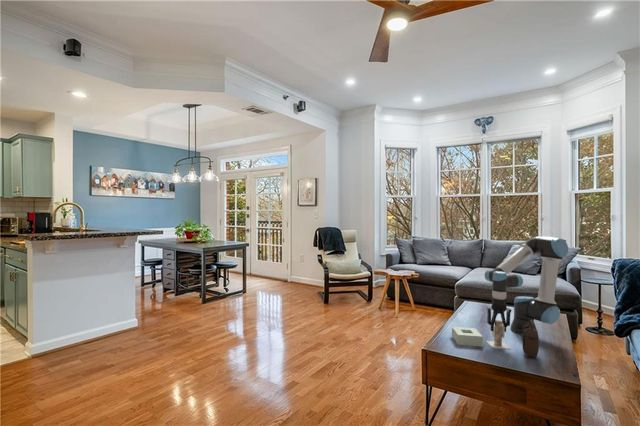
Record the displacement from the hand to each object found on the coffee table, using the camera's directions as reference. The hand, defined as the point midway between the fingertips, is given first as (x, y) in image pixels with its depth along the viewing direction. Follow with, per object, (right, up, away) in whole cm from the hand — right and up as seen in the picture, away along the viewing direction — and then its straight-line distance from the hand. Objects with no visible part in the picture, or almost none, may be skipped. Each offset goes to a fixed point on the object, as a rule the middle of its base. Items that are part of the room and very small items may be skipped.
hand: (498, 336), depth 200 cm
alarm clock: (+10, -6, -15) cm, 18 cm away
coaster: (0, -5, 0) cm, 5 cm away
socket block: (-17, -5, +5) cm, 18 cm away
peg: (0, -5, 0) cm, 5 cm away
